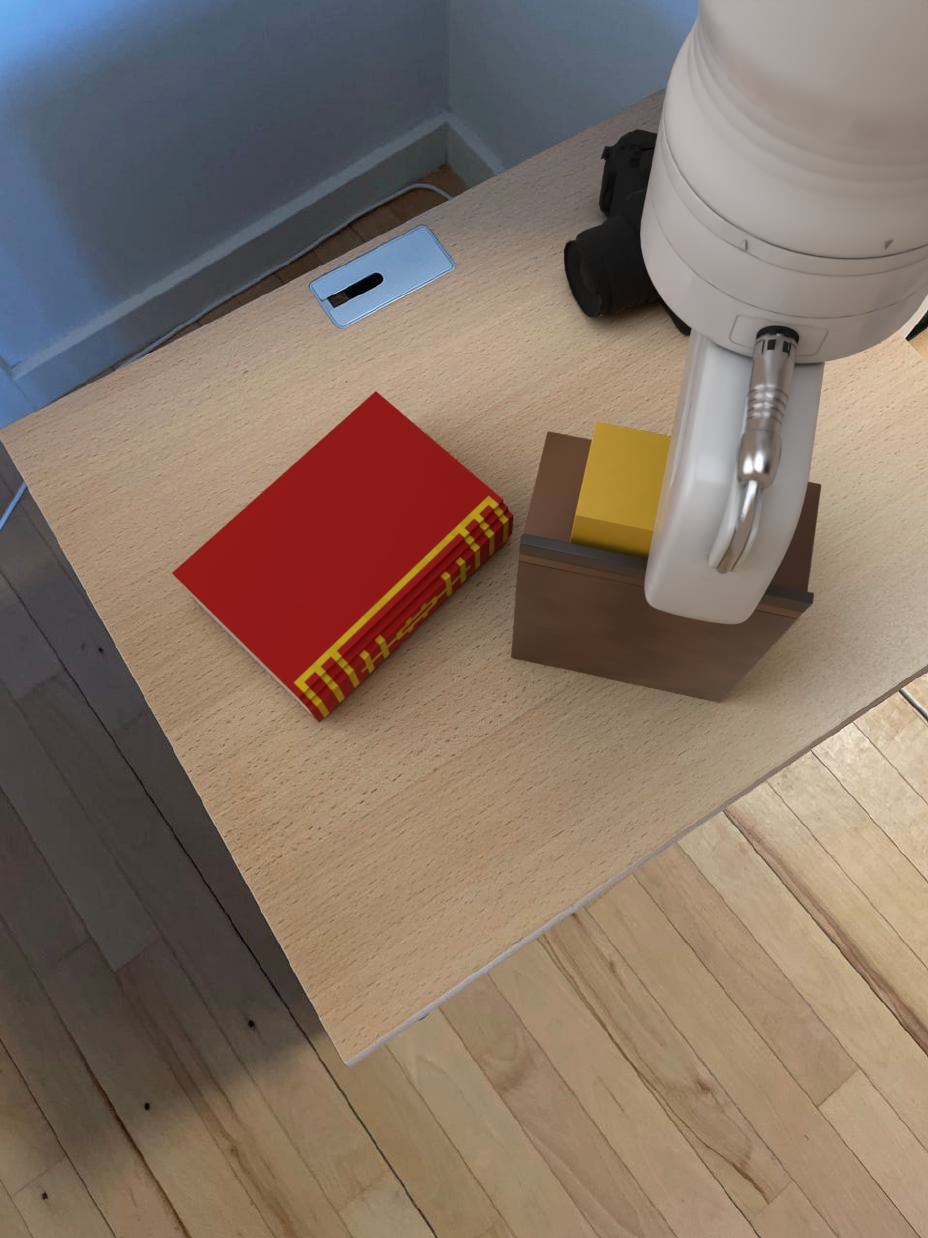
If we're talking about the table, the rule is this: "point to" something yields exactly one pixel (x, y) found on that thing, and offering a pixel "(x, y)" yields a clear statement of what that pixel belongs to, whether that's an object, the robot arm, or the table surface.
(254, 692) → the table surface
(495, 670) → the table surface
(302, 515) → the book
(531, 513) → the top shelf
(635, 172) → the film camera
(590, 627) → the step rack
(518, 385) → the table surface
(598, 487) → the yellow box
